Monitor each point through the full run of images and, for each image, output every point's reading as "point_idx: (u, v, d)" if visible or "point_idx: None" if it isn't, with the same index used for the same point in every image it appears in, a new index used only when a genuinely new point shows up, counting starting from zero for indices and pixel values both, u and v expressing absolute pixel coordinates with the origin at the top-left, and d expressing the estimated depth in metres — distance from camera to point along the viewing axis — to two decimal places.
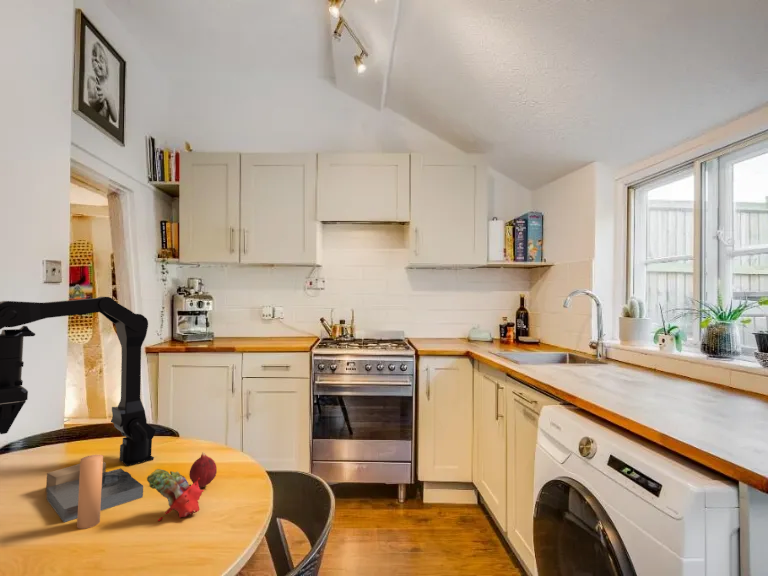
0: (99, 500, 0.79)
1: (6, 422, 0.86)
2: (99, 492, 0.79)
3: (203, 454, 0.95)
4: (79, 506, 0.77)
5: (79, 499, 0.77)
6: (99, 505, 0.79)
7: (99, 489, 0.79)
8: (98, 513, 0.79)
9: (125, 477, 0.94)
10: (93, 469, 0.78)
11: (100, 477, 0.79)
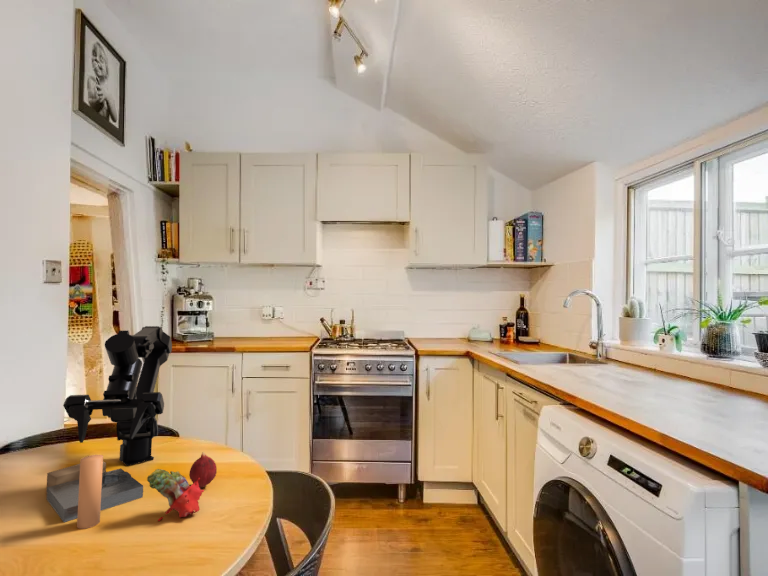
0: (99, 500, 0.79)
1: None
2: (99, 492, 0.79)
3: (203, 454, 0.95)
4: (79, 506, 0.77)
5: (79, 499, 0.77)
6: (99, 505, 0.79)
7: (99, 489, 0.79)
8: (98, 513, 0.79)
9: (125, 477, 0.94)
10: (93, 469, 0.78)
11: (100, 477, 0.79)
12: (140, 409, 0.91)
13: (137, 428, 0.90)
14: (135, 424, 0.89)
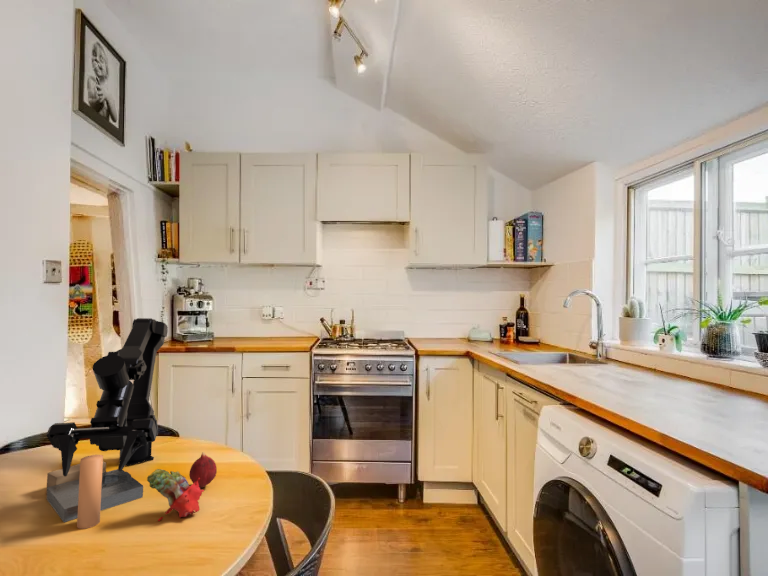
0: (99, 500, 0.79)
1: None
2: (99, 492, 0.79)
3: (203, 454, 0.95)
4: (79, 506, 0.77)
5: (79, 499, 0.77)
6: (99, 505, 0.79)
7: (99, 489, 0.79)
8: (98, 513, 0.79)
9: (125, 477, 0.94)
10: (93, 469, 0.78)
11: (100, 477, 0.79)
12: (130, 437, 0.84)
13: (127, 459, 0.83)
14: (124, 454, 0.82)
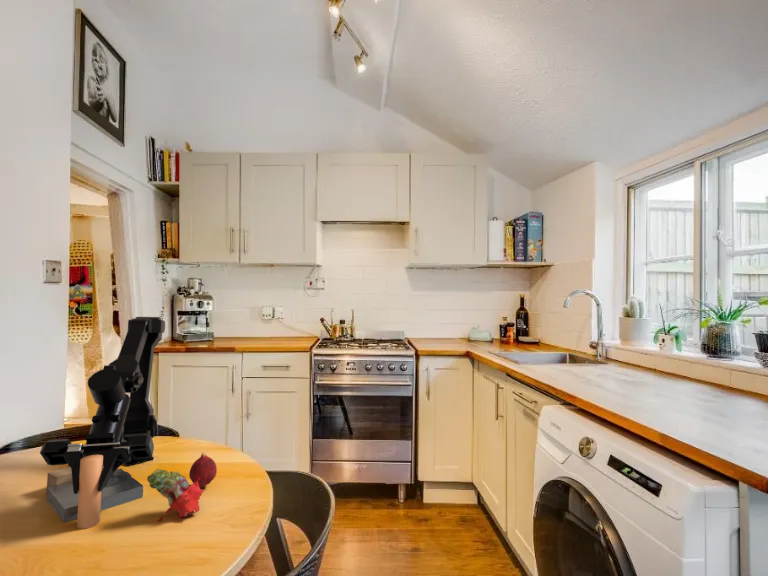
0: (99, 500, 0.79)
1: None
2: (99, 492, 0.79)
3: (203, 454, 0.95)
4: (79, 506, 0.77)
5: (79, 499, 0.77)
6: (99, 505, 0.79)
7: None
8: (98, 513, 0.79)
9: (125, 477, 0.94)
10: (93, 469, 0.78)
11: (100, 477, 0.79)
12: (112, 456, 0.81)
13: (107, 478, 0.80)
14: (105, 474, 0.79)
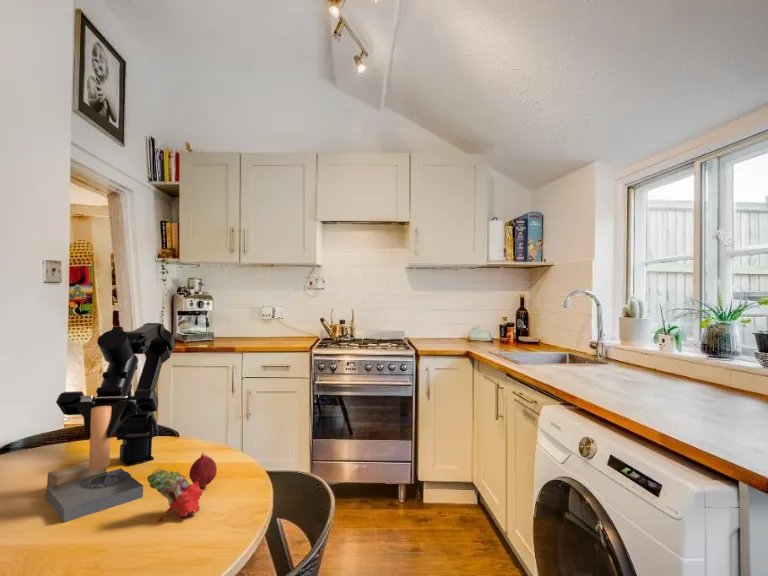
0: (108, 446, 0.87)
1: None
2: (108, 439, 0.87)
3: (203, 454, 0.95)
4: (90, 450, 0.85)
5: (90, 444, 0.85)
6: (108, 450, 0.87)
7: None
8: (107, 457, 0.87)
9: (125, 477, 0.94)
10: (103, 417, 0.86)
11: None
12: (119, 407, 0.89)
13: (116, 426, 0.88)
14: (113, 422, 0.87)
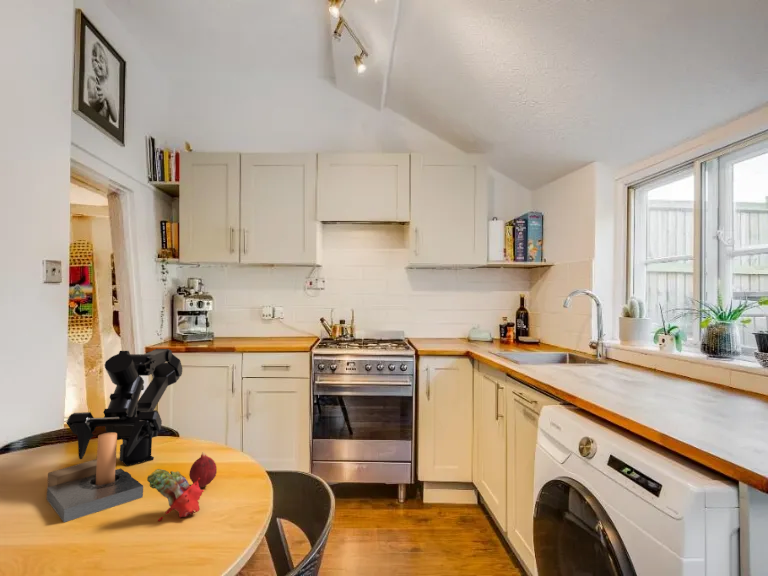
0: (113, 471, 0.92)
1: None
2: (113, 464, 0.92)
3: (203, 454, 0.95)
4: (97, 475, 0.91)
5: (97, 469, 0.91)
6: (113, 475, 0.92)
7: (113, 461, 0.92)
8: None
9: (125, 477, 0.94)
10: (108, 444, 0.91)
11: (114, 451, 0.93)
12: (137, 427, 0.95)
13: (133, 445, 0.94)
14: (131, 442, 0.93)
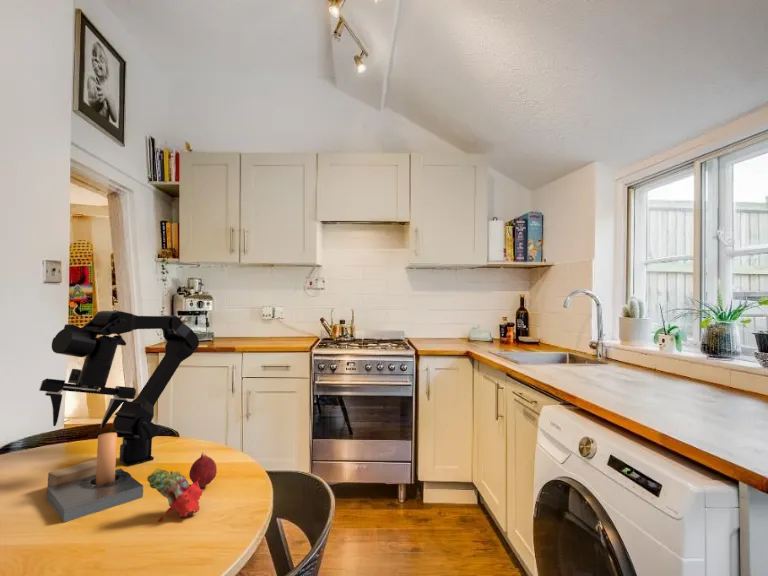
0: (113, 471, 0.92)
1: (53, 414, 0.93)
2: (113, 464, 0.92)
3: (203, 454, 0.95)
4: (97, 475, 0.91)
5: (97, 469, 0.91)
6: (113, 475, 0.92)
7: (113, 461, 0.92)
8: None
9: (125, 477, 0.94)
10: (108, 444, 0.91)
11: (114, 451, 0.93)
12: (115, 405, 0.99)
13: (108, 418, 0.99)
14: (108, 417, 0.98)
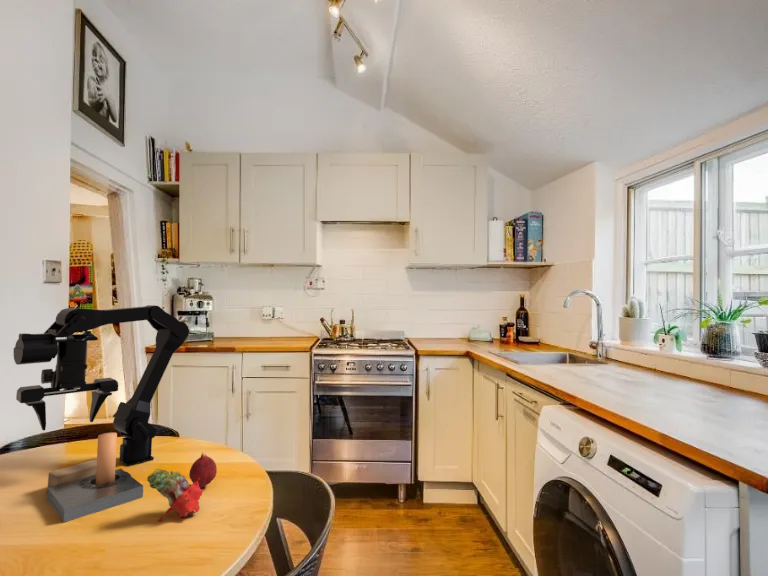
0: (113, 471, 0.92)
1: (39, 420, 0.93)
2: (113, 464, 0.92)
3: (203, 454, 0.95)
4: (97, 475, 0.91)
5: (97, 469, 0.91)
6: (113, 475, 0.92)
7: (113, 461, 0.92)
8: None
9: (125, 477, 0.94)
10: (108, 444, 0.91)
11: (114, 451, 0.93)
12: (101, 400, 1.00)
13: None
14: (96, 412, 1.00)
